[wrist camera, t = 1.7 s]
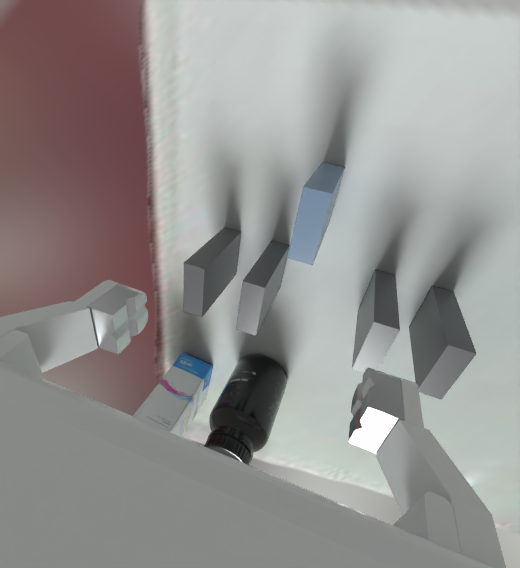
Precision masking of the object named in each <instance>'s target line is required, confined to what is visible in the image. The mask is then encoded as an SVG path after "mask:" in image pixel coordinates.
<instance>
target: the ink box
mask: <svg viewBox="0 0 520 568" xmlns="http://www.w3.org/2000/svg"><path fill="white" fill-rule="evenodd" d="M212 368H213V366H212V365H210V364H208V363H206V362H203V361H201V360H199V359H197V358H195V357H192V356H190V355H188V354H186V353H182V355H181V356H180V357H179V358H178V360H177V361H176V362H175V363H174V365H173V366H172V367H171V368H170V370H169V371H168V372H167V374H166V375H165V376H164V377H163V379H162V380H161V381H160V382H159V384H158V385H157V386H156V388H155V389H154V390H153V391H152V393H151V394H150V395H149V396H148V398H147V399H146V400H145V402H144V403H143V404H142V405H141V407H140V408H139V409H138V410H137V411H136V413H135V414H134V415H133V417H135V418H138V419H140V420H142V421H145V422H147V423H149V424H152V425H154V426H157V427H159V428H161V429H164V430H166V431H169V432H171V433H173V434H176V435H178V436H180V437H183V436H184V434H185V432H186V431H187V429H188V427H189V426H190V424H191V422H192V421H193V419H194V417H195V416H196V414H197V412H198V411H199V409H200V407H201V406H202V404H203V403H204V401H205V399H206V395H207V390H208V386H209V382H210V377H211V372H212Z"/></svg>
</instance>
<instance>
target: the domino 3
mask: <svg viewBox="0 0 520 568" xmlns="http://www.w3.org/2000/svg"><path fill="white" fill-rule="evenodd" d="M344 169H345V167H342V166H337V165H333V164H328V163H324V162H323V163H322V164H321V165H320V167H319V168H318V169H317V170H316V172H315V173H314V174H313V175H312V177H311V178H310V179H309V180H308V182H307V183H306V184H305V185H304V187H303V190H302V195H301V199H300V204H299V208H298V213H297V217H296V222H295V226H294V231H293V235H292V240H291V244H290V249H289V253H288V258H289V259H293V260H296V261H300V262H303V263H306V264H310V265H313V263H314V260H315V258H316V255H317V253H318V250H319V247H320V245H321V242H322V240H323V237H324V235H325V232H326V230H327V227H328V224H329V221H330V217H331V214H332V210H333V207H334V203H335V200H336V197H337V193H338V190H339V186H340V183H341V179H342V176H343V172H344Z"/></svg>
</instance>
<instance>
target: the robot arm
mask: <svg viewBox="0 0 520 568" xmlns="http://www.w3.org/2000/svg"><path fill="white" fill-rule="evenodd" d="M146 302H147V296H146V294H145V293H143V292H141V291H139V290H136V289H133V288H130V287H128V286H125V285H122V284H118V283H116V282H113V281H111V280H107V281H104V282H102V283H101V284H100V285H98V286H97V287H95V288H94V289H92V290H91V291H89V292H88V293H86V294H85V295H84V296H82V297H81V298H79V299H78V300H76V301H75V302H71V301H68V302H64V303H60V304H55V305H51V306H47V307H43V308H38V309H34V310H29V311H25V312H21V313H17V314H12V315H9V316H4V317H0V568H506V566H505V562H504V559H503V555H502V551H501V547H500V544H499V540H498V537H497V533H496V529H495V525H494V521H493V518H492V514H491V513H490V512H489V510H488V509H487V508H486V506H485V505H484V504H483V502H482V501H481V500H480V498H479V497H478V495H477V494H476V493H475V491H474V490H473V489H472V487H471V486H470V485H469V483H468V482H467V481H466V479H465V478H464V477H463V475H462V474H461V472H460V471H459V470H458V468H457V467H456V466H455V464H454V463H453V462H452V460H451V459H450V458H449V456H448V455H447V453H446V452H445V451H444V449H443V448H442V447H441V445H440V444H439V443H438V441H437V440H436V439H435V437H434V436H433V434H432V433H431V432H430V430H428V429H425V428H424V424H423V417H422V410H421V404H420V397H419V390H418V385H417V384H416V383H415V382H412V381H408V380H405V379H402V378H398V377H395V376H392V375H389V374H386V373H383V372H380V371H377V370H374V369H371V368H367V369H366V370H365V372H364V374H363V381H362V383H360V384H358V386H357V388H356V390H355V393H354V396H353V400H352V407H351V413H352V414H353V416H354V417H353V419H352V421H351V423H350V431H349V443H352V444H354V445H356V446H359V447H361V448H364V449H366V450H369V451H371V452H373V453H376V454H375V455H376V457H377V460H378V462H379V464H380V466H381V469H382V471H383V473H384V475H385V477H386V480H387V482H388V484H389V486H390V489H391V491H392V493H393V495H394V497H395V500H396V502H397V504H398V506H399V508H400V511H401V513H402V515H403V516H402V517H401V518H400V519H399V520H398V521H397V522H396V523H395V524H394V525H391V524H388V523H386V522H384V521H381V520H378V519H376V518H374V517H372V516H369V515H367V514H364V513H362V512H360V511H357V510H355V509H353V508H350V507H348V506H345V505H343V504H341V503H338V502H336V501H333V500H331V499H328V498H326V497H324V496H321V495H319V494H317V493H314V492H312V491H310V490H307V489H305V488H302V487H300V486H298V485H295V484H293V483H290V482H288V481H286V480H283V479H281V478H279V477H276V476H274V475H271V474H269V473H267V472H264V471H262V470H259V469H257V468H255V467H252V466H250V465H247V464H245V463H243V462H240V461H238V460H235V459H233V458H231V457H228V456H226V455H224V454H221V453H219V452H216V451H214V450H212V449H209V448H207V447H204V446H202V445H200V444H197V443H195V442H192V441H190V440H188V439H185V438H183V437H180V436H178V435H176V434H173V433H171V432H169V431H166V430H164V429H161V428H159V427H157V426H154V425H152V424H149V423H147V422H145V421H142V420H140V419H138V418H135V417H133V416H130V415H128V414H126V413H123V412H121V411H118V410H116V409H114V408H111V407H109V406H106V405H104V404H102V403H99V402H97V401H95V400H92V399H90V398H87V397H85V396H82V395H80V394H77V393H75V392H73V391H71V390H68V389H66V388H64V387H61V386H59V385H56V384H54V383H52V382H49V381H47V380H45V379H44V376H43V374H42V373H43V372H45V371H47V370H50V369H52V368H54V367H56V366H59V365H61V364H63V363H66V362H68V361H70V360H72V359H74V358H77V357H79V356H81V355H84V354H86V353H88V352H91V351H93V350H95V349H97V348H98V347H99V348H102V349H105V350H108V351H110V352H114V353H116V354H119V353H120V352H121V351H122V350H123V349H124V348H125V347H126V346H127V345H128V344H129V343H130V342H131V337H132V336H135V335H138V334H139V333H140V332H141V331H142V330H143V329H144V327H145V325H146V323H147V319H148V311H147V309H146V307H145V306H144V304H145V303H146Z"/></svg>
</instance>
